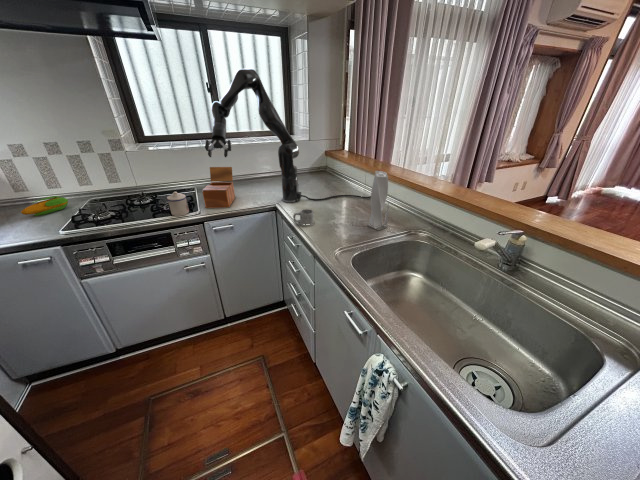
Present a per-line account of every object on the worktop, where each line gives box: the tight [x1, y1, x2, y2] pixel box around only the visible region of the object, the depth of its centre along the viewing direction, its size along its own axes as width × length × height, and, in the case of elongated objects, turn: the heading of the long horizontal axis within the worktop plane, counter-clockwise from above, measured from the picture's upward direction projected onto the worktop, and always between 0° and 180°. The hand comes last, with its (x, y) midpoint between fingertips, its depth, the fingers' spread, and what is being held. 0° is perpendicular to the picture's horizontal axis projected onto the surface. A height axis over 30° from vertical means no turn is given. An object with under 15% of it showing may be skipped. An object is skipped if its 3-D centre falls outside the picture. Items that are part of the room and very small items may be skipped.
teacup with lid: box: [166, 191, 190, 217], centre depth 141 cm, size 12×9×12 cm
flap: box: [209, 166, 234, 182], centre depth 160 cm, size 8×13×1 cm
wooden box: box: [201, 181, 236, 209], centre depth 155 cm, size 17×13×10 cm
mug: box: [292, 208, 315, 228], centre depth 132 cm, size 10×7×7 cm, turn 90°
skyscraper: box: [367, 170, 390, 232], centre depth 125 cm, size 8×8×28 cm
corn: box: [20, 195, 69, 217], centre depth 140 cm, size 7×8×20 cm
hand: (217, 156), depth 153 cm, fingers open, 8 cm apart
